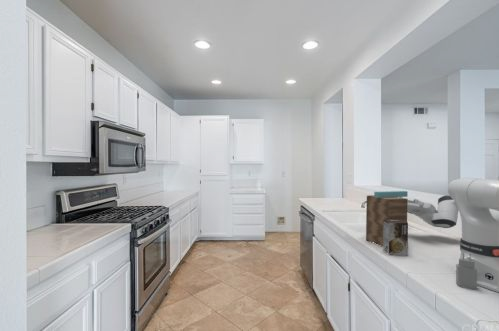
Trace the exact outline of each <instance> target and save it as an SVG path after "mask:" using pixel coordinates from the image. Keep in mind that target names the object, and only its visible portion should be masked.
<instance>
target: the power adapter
mask: <svg viewBox="0 0 499 331" xmlns="http://www.w3.org/2000/svg"><path fill="white" fill-rule="evenodd" d="M474 266H475V261H473V260H471V254H470V256H469V259H464V253H463V259H462V258H460V257H459V258H458V263H456V266H455V267H456V268H455V285H456V286H457V287H461V288H466V289H471V290H475V291H476V290H478V285H477V268H476V267H474Z"/></svg>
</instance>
